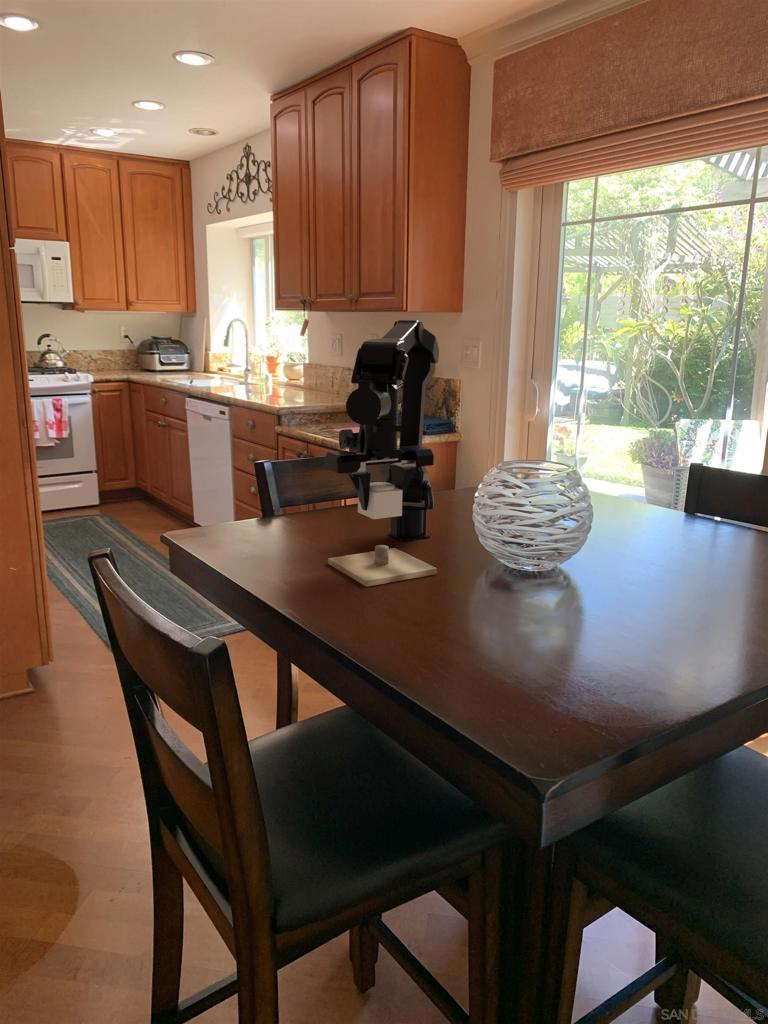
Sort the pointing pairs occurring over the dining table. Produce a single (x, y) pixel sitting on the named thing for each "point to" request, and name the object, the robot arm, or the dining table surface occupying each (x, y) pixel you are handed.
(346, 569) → the stud plate
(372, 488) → the white domed square block
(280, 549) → the dining table surface
